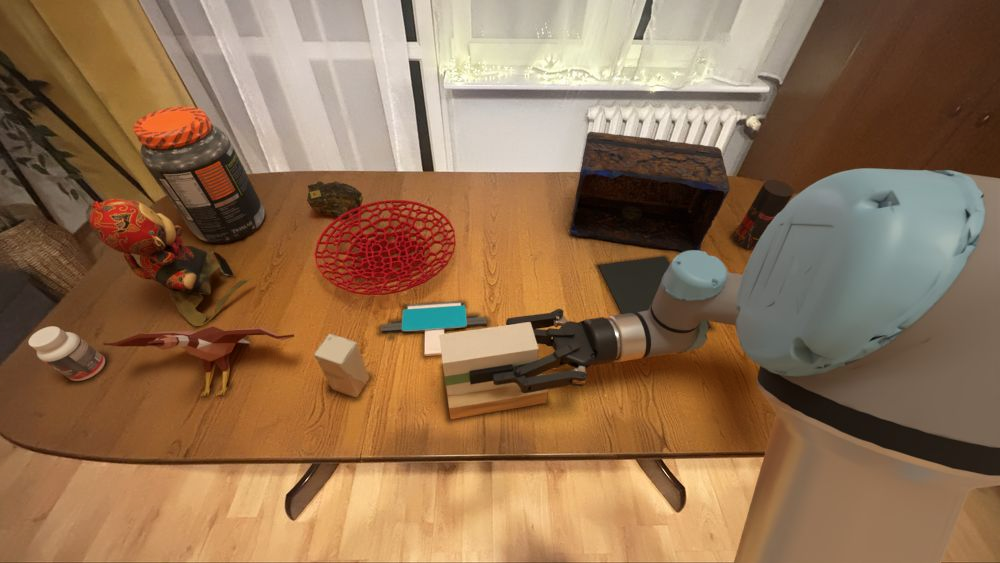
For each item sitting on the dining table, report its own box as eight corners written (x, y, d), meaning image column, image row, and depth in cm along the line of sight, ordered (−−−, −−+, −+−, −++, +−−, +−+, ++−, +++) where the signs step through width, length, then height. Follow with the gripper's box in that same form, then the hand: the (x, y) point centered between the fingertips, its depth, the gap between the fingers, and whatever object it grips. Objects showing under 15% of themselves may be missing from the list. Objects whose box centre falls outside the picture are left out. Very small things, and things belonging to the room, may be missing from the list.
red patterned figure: (233, 323, 77) (108, 226, 59) (158, 333, 81) (18, 244, 62) (263, 263, 87) (165, 164, 68) (196, 274, 90) (84, 182, 72)
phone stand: (378, 360, 75) (377, 355, 73) (384, 308, 83) (382, 303, 81) (489, 351, 76) (489, 346, 75) (484, 301, 84) (484, 296, 83)
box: (331, 389, 71) (311, 353, 62) (345, 368, 73) (327, 331, 65) (358, 398, 70) (341, 364, 61) (371, 377, 72) (357, 341, 64)
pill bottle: (61, 382, 70) (13, 350, 63) (82, 355, 74) (38, 322, 67) (94, 381, 71) (50, 349, 63) (113, 354, 74) (73, 321, 67)
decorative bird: (85, 432, 61) (37, 347, 55) (166, 359, 78) (136, 287, 71) (283, 421, 63) (259, 337, 57) (321, 352, 80) (306, 281, 73)
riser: (545, 403, 70) (548, 391, 67) (450, 419, 67) (448, 408, 64) (531, 353, 76) (533, 340, 73) (444, 366, 74) (442, 354, 71)
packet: (526, 356, 71) (530, 321, 64) (533, 383, 68) (539, 348, 60) (444, 369, 69) (438, 334, 62) (447, 397, 66) (442, 363, 58)
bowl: (324, 325, 80) (316, 308, 76) (319, 229, 98) (312, 212, 95) (472, 291, 86) (471, 274, 82) (441, 207, 105) (439, 191, 101)
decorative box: (701, 261, 95) (689, 201, 107) (742, 194, 79) (722, 132, 91) (568, 249, 98) (570, 192, 110) (580, 182, 82) (581, 123, 93)
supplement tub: (225, 199, 105) (168, 97, 86) (280, 210, 103) (233, 107, 84) (178, 239, 95) (100, 133, 76) (237, 252, 92) (173, 146, 73)
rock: (357, 169, 101) (351, 182, 95) (371, 202, 106) (367, 217, 100) (308, 181, 101) (299, 195, 95) (325, 214, 107) (317, 229, 100)
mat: (710, 327, 81) (711, 326, 81) (634, 339, 79) (634, 338, 79) (664, 257, 94) (665, 256, 94) (597, 265, 92) (598, 264, 92)
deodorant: (740, 229, 102) (771, 176, 91) (764, 242, 99) (799, 189, 88) (728, 239, 99) (758, 186, 88) (751, 253, 96) (786, 200, 85)
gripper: (625, 401, 64) (476, 427, 61) (587, 310, 76) (461, 328, 73) (638, 377, 59) (475, 404, 55) (595, 283, 70) (458, 301, 67)
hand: (467, 361), depth 64 cm, fingers closed on packet, 5 cm apart
